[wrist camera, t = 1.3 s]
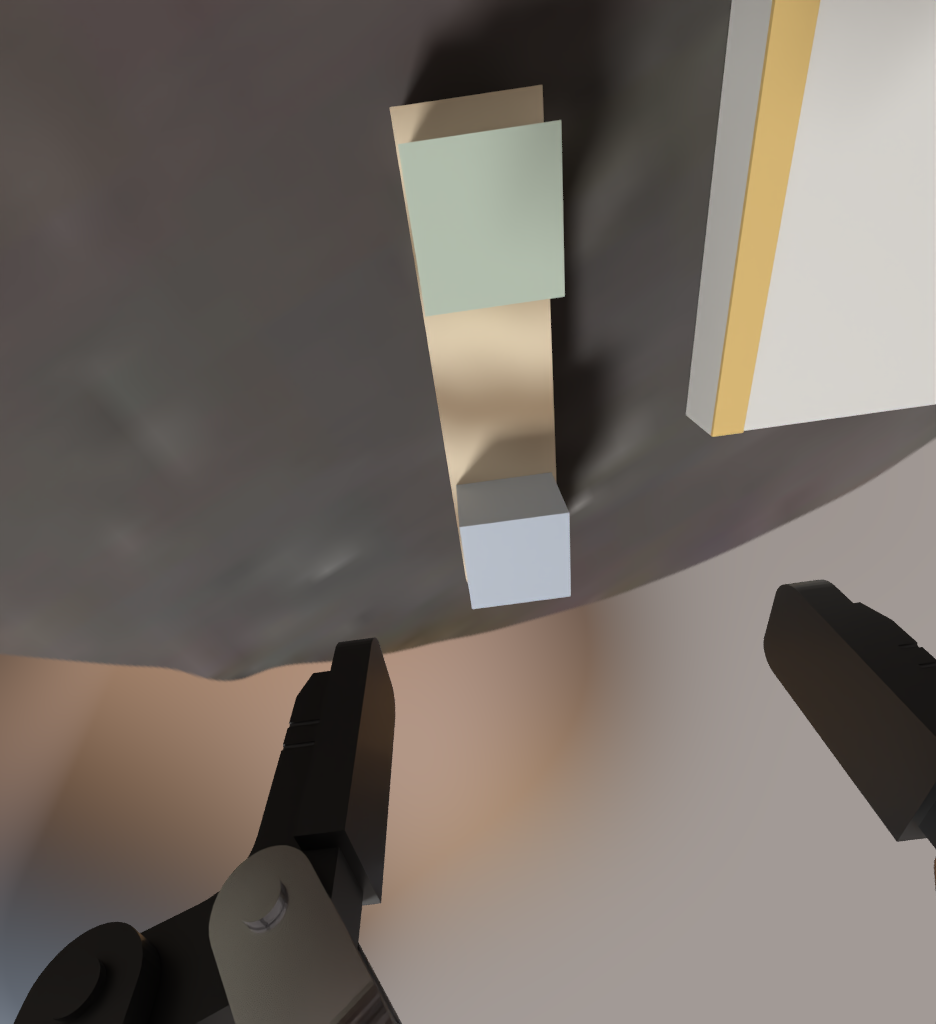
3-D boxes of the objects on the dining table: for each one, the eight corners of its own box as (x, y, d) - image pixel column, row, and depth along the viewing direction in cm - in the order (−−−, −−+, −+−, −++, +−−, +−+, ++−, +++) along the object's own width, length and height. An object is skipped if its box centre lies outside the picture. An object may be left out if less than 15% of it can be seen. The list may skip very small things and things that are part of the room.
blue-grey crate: (456, 485, 26) (459, 527, 23) (551, 472, 26) (569, 512, 22) (467, 561, 29) (472, 609, 25) (554, 549, 29) (570, 596, 25)
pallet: (396, 123, 21) (389, 107, 18) (525, 104, 21) (542, 84, 18) (463, 542, 33) (466, 581, 29) (546, 531, 33) (559, 569, 29)
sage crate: (404, 155, 19) (397, 144, 15) (537, 135, 18) (561, 119, 15) (427, 298, 21) (425, 316, 18) (543, 282, 21) (564, 296, 18)
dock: (770, -348, 15) (842, -467, 13) (1162, -412, 15) (1321, -546, 13) (685, 414, 29) (712, 436, 26) (896, 385, 28) (945, 404, 26)
